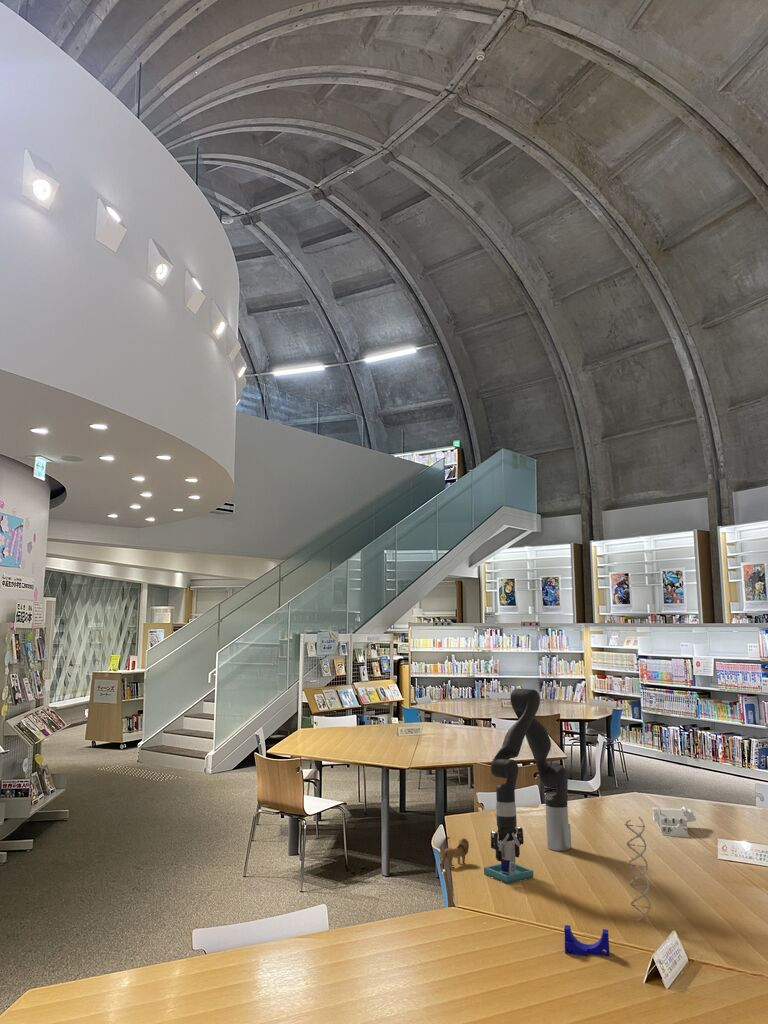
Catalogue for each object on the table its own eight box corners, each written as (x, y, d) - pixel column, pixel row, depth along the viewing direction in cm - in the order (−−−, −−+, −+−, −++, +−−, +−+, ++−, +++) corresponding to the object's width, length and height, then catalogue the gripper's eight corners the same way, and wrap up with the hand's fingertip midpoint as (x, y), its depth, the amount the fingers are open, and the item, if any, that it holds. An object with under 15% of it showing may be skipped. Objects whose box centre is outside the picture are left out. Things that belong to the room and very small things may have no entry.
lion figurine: (462, 859, 286) (462, 836, 287) (472, 862, 282) (472, 838, 283) (437, 867, 276) (437, 843, 278) (447, 870, 272) (446, 845, 274)
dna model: (636, 912, 229) (629, 814, 234) (655, 918, 224) (648, 817, 230) (626, 918, 224) (620, 818, 229) (646, 923, 220) (639, 821, 225)
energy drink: (500, 871, 268) (498, 837, 270) (513, 871, 268) (512, 837, 271) (503, 876, 263) (502, 841, 265) (517, 875, 263) (516, 841, 265)
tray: (510, 868, 274) (509, 861, 274) (533, 877, 263) (533, 870, 264) (484, 874, 267) (483, 867, 268) (506, 884, 256) (506, 876, 257)
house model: (657, 835, 319) (655, 812, 320) (652, 824, 338) (651, 803, 339) (702, 838, 314) (700, 815, 316) (695, 827, 333) (693, 805, 335)
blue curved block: (565, 954, 199) (563, 930, 200) (566, 947, 204) (564, 924, 205) (609, 959, 196) (608, 935, 197) (609, 952, 200) (608, 929, 201)
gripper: (513, 809, 276) (515, 853, 273) (485, 813, 269) (486, 859, 266) (527, 812, 270) (528, 858, 267) (498, 818, 262) (500, 864, 260)
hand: (507, 858), depth 266 cm, fingers open, 8 cm apart
